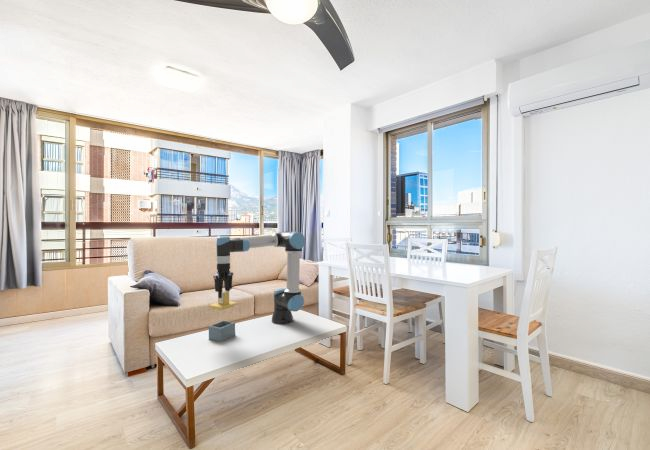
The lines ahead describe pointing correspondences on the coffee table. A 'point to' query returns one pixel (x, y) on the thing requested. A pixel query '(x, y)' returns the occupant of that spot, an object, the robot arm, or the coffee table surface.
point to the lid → (224, 302)
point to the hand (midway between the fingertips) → (223, 302)
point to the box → (221, 330)
